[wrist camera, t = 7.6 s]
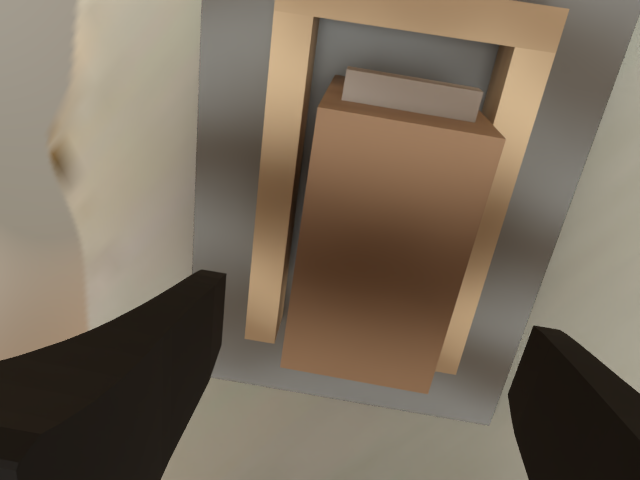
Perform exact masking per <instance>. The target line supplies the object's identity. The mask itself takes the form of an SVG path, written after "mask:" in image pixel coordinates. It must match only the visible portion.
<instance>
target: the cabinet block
mask: <svg viewBox="0 0 640 480" xmlns="http://www.w3.org/2000/svg"><path fill="white" fill-rule="evenodd" d="M482 96H483V91H482V90H480V89H479V88H476V87H470V86H464V85H458V84H452V83H446V82H440V81H434V80H428V79H422V78H416V77H410V76H404V75H398V74H392V73H386V72H380V71H374V70H368V69H362V68H357V67H351V66H348V67H347V69H346V75H345V76H340V75H335V76H334V78H333V79H332V81H331V83H330V85H329V87H328V89H327V91H326V92H325V94H324V96H323V98H322V100H321V102H320V104H319V105H318V108H317V115H316V122H315V129H314V136H313V142H312V149H311V156H310V163H309V170H308V177H307V184H306V191H305V198H304V205H303V212H302V218H301V225H300V232H299V239H298V246H297V253H296V260H295V267H294V274H293V281H292V288H291V295H290V301H289V308H288V315H287V322H286V329H285V336H284V343H283V350H282V357H281V364H280V367H281V368H286V369H292V370H297V371H303V372H308V373H314V374H319V375H325V376H330V377H336V378H341V379H347V380H352V381H357V382H363V383H368V384H374V385H379V386H385V387H390V388H396V389H401V390H407V391H412V392H418V393H423V394H428V393H429V389H430V386H431V383H432V380H433V376H434V373H435V370H436V367H437V363H438V360H439V357H440V353H441V350H442V347H443V344H444V340H445V337H446V334H447V331H448V327H449V324H450V321H451V317H452V314H453V311H454V308H455V304H456V301H457V298H458V295H459V291H460V288H461V285H462V281H463V278H464V275H465V272H466V268H467V265H468V262H469V259H470V255H471V252H472V249H473V245H474V242H475V239H476V236H477V232H478V229H479V226H480V223H481V219H482V216H483V213H484V209H485V206H486V203H487V200H488V196H489V193H490V190H491V187H492V183H493V180H494V177H495V174H496V170H497V167H498V164H499V160H500V157H501V154H502V151H503V147H504V144H505V141H506V139H505V137H504V136H503V135H502V134H501V133H500V132H499V131H498V130H497V129H496V128H495V127H494V126H493V124H492V123H491V122H490V121H489V120H488V119H487V118H486V117H485V116H484V115H483V114H482V113H481V111H480V110H479V107H480V103H481V99H482Z"/></svg>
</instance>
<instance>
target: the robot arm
mask: <svg viewBox="0 0 640 480" xmlns="http://www.w3.org/2000/svg"><path fill="white" fill-rule="evenodd" d="M226 276H227V274H226V273H221V272H215V271H209V270H203V269H201V270H199V271H197V272H195V273H194V274H192V275H190V276H189V277H187V278H186V279H184V280H182V281H181V282H179V283H178V284H176V285H174V286H173V287H171V288H170V289H168V290H166V291H165V292H163V293H161V294H159V295H158V296H156V297H154V298H153V299H151V300H149V301H148V302H146V303H144V304H142V305H140V306H138V307H137V308H135V309H133V310H131V311H129V312H127V313H125V314H123V315H121V316H119V317H118V318H116V319H114V320H112V321H110V322H108V323H105V324H103V325H101V326H99V327H97V328H94V329H92V330H90V331H87V332H85V333H82V334H80V335H78V336H75V337H73V338H70V339H67V340H65V341H62V342H59V343H56V344H53V345H50V346H47V347H44V348H41V349H38V350H35V351H32V352H29V353H26V354H23V355H20V356H16V357H13V358H9V359H6V360H1V361H0V480H161V478H162V475H163V473H164V471H165V469H166V467H167V464H168V462H169V460H170V458H171V456H172V454H173V452H174V450H175V448H176V446H177V444H178V442H179V440H180V438H181V436H182V434H183V432H184V430H185V428H186V426H187V424H188V422H189V420H190V418H191V416H192V414H193V412H194V410H195V408H196V406H197V404H198V402H199V400H200V398H201V396H202V394H203V392H204V390H205V388H206V386H207V384H208V382H209V380H210V377H211V374H212V372H213V369H214V366H215V363H216V360H217V357H218V354H219V351H220V348H221V345H222V333H223V319H224V304H225V290H226ZM508 399H509V405H510V412H511V418H512V423H513V429H514V434H515V437H516V441H517V444H518V447H519V450H520V453H521V457H522V460H523V463H524V466H525V469H526V472H527V475H528V478H529V480H640V393H638V392H637V391H636V390H635V389H633V388H632V387H631V386H630V385H628V384H627V383H626V382H625V381H623V380H622V379H621V378H620V377H619V376H617V375H616V374H615V373H614V372H613V371H611V370H610V369H609V368H608V367H607V366H605V365H604V364H603V363H602V362H601V361H599V360H598V359H597V358H596V357H595V356H593V355H592V354H591V353H590V352H589V351H587V350H586V349H585V348H584V347H582V346H581V345H580V344H579V343H577V342H576V341H575V340H574V339H572V338H571V337H570V336H568V335H567V334H565V333H564V332H562V331H561V330H557V329H551V328H545V327H539V326H533V328H532V331H531V334H530V336H529V339H528V342H527V345H526V347H525V350H524V353H523V355H522V358H521V361H520V363H519V366H518V369H517V371H516V374H515V377H514V379H513V382H512V385H511V387H510V390H509V393H508Z"/></svg>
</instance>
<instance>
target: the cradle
mask: <svg viewBox="0 0 640 480" xmlns="http://www.w3.org/2000/svg"><path fill="white" fill-rule="evenodd" d="M639 15H640V0H202V8H201V37H200V65H199V94H198V123H197V152H196V180H195V209H194V238H193V267H192V274H194V273H195V272H197V271H199V270H201V269H203V270H209V271H215V272H221V273H226V274H227V276H226V290H225V304H224V319H223V333H222V345H221V348H220V351H219V354H218V357H217V360H216V363H215V366H214V369H213V372H212V374H211V377H212V378H217V379H223V380H229V381H235V382H240V383H246V384H252V385H258V386H263V387H269V388H275V389H281V390H286V391H292V392H298V393H304V394H309V395H315V396H321V397H327V398H332V399H338V400H344V401H350V402H355V403H361V404H367V405H373V406H378V407H384V408H390V409H396V410H401V411H407V412H413V413H419V414H424V415H430V416H436V417H442V418H448V419H453V420H459V421H465V422H471V423H476V424H482V425H488V426H490V423H491V420H492V417H493V415H494V412H495V409H496V406H497V404H498V401H499V398H500V395H501V393H502V390H503V387H504V384H505V382H506V379H507V376H508V373H509V371H510V368H511V365H512V363H513V360H514V357H515V354H516V352H517V349H518V346H519V343H520V341H521V338H522V335H523V332H524V330H525V327H526V324H527V321H528V319H529V316H530V313H531V310H532V308H533V305H534V302H535V300H536V297H537V294H538V291H539V289H540V286H541V283H542V280H543V278H544V275H545V272H546V269H547V267H548V264H549V261H550V258H551V256H552V253H553V250H554V247H555V245H556V242H557V239H558V237H559V234H560V231H561V228H562V226H563V223H564V220H565V217H566V215H567V212H568V209H569V206H570V204H571V201H572V198H573V195H574V193H575V190H576V187H577V184H578V182H579V179H580V176H581V173H582V171H583V168H584V165H585V163H586V160H587V157H588V154H589V152H590V149H591V146H592V143H593V141H594V138H595V135H596V132H597V130H598V127H599V124H600V121H601V119H602V116H603V113H604V110H605V108H606V105H607V102H608V100H609V97H610V94H611V91H612V89H613V86H614V83H615V80H616V78H617V75H618V72H619V69H620V67H621V64H622V61H623V58H624V56H625V53H626V50H627V47H628V45H629V42H630V39H631V36H632V34H633V31H634V28H635V26H636V23H637V20H638V17H639ZM348 66H351V67H357V68H362V69H368V70H374V71H380V72H386V73H392V74H398V75H404V76H410V77H416V78H422V79H428V80H434V81H440V82H446V83H452V84H458V85H464V86H470V87H476V88H479V89H480V90H482V91H483V96H482V99H481V103H480V107H479V110H480V111H481V113H482V114H483V115H484V116H485V117H486V118H487V119H488V120H489V121H490V122H491V123H492V124H493V126H494V127H495V128H496V129H497V130H498V131H499V132H500V133H501V134H502V135H503V136H504V137H505V139H506V141H505V144H504V147H503V151H502V154H501V157H500V160H499V164H498V167H497V170H496V174H495V177H494V180H493V183H492V187H491V190H490V193H489V196H488V200H487V203H486V206H485V209H484V213H483V216H482V219H481V223H480V226H479V229H478V232H477V236H476V239H475V242H474V245H473V249H472V252H471V255H470V259H469V262H468V265H467V268H466V272H465V275H464V278H463V281H462V285H461V288H460V291H459V295H458V298H457V301H456V304H455V308H454V311H453V314H452V317H451V321H450V324H449V327H448V331H447V334H446V337H445V340H444V344H443V347H442V350H441V353H440V357H439V360H438V363H437V367H436V370H435V373H434V376H433V380H432V383H431V386H430V389H429V393H428V394H423V393H418V392H412V391H407V390H401V389H396V388H390V387H385V386H379V385H374V384H368V383H363V382H357V381H352V380H347V379H341V378H336V377H330V376H325V375H319V374H314V373H308V372H303V371H297V370H292V369H286V368H281V367H280V364H281V357H282V350H283V343H284V336H285V329H286V322H287V315H288V308H289V301H290V295H291V288H292V281H293V274H294V267H295V260H296V253H297V246H298V239H299V232H300V225H301V218H302V212H303V205H304V198H305V191H306V184H307V177H308V170H309V163H310V156H311V149H312V142H313V136H314V129H315V122H316V115H317V108H318V105H319V104H320V102H321V100H322V98H323V96H324V94H325V92H326V91H327V89H328V87H329V85H330V83H331V81H332V79H333V78H334V76H335V75H340V76H345V75H346V69H347V67H348Z"/></svg>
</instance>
